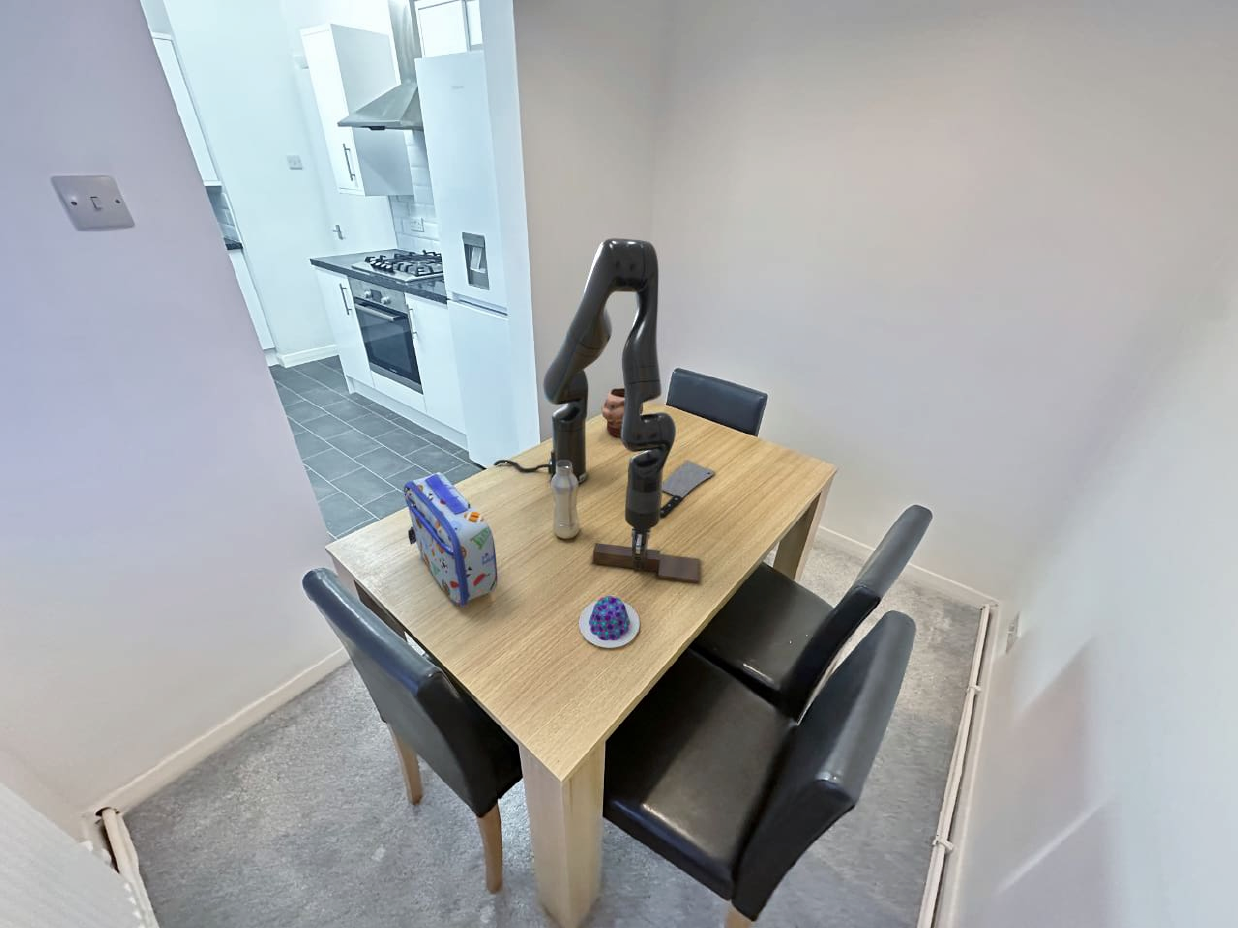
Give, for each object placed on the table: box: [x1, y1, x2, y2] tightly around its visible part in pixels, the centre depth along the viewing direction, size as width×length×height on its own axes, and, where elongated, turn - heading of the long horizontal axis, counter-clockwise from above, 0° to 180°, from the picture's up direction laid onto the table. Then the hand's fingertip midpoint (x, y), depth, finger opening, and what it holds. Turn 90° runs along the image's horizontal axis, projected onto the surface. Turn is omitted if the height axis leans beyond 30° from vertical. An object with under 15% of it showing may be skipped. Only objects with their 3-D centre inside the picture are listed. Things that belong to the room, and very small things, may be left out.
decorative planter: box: [600, 387, 644, 438], centre depth 166 cm, size 20×12×14 cm, turn 143°
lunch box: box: [403, 471, 498, 607], centre depth 103 cm, size 28×10×22 cm, turn 42°
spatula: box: [592, 542, 700, 584], centre depth 111 cm, size 24×7×4 cm, turn 82°
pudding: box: [578, 595, 641, 649], centre depth 96 cm, size 12×12×5 cm
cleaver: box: [660, 460, 714, 518], centre depth 139 cm, size 29×1×10 cm
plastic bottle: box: [550, 460, 581, 540], centre depth 116 cm, size 6×7×20 cm
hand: (639, 562), depth 112 cm, fingers closed on spatula, 3 cm apart
